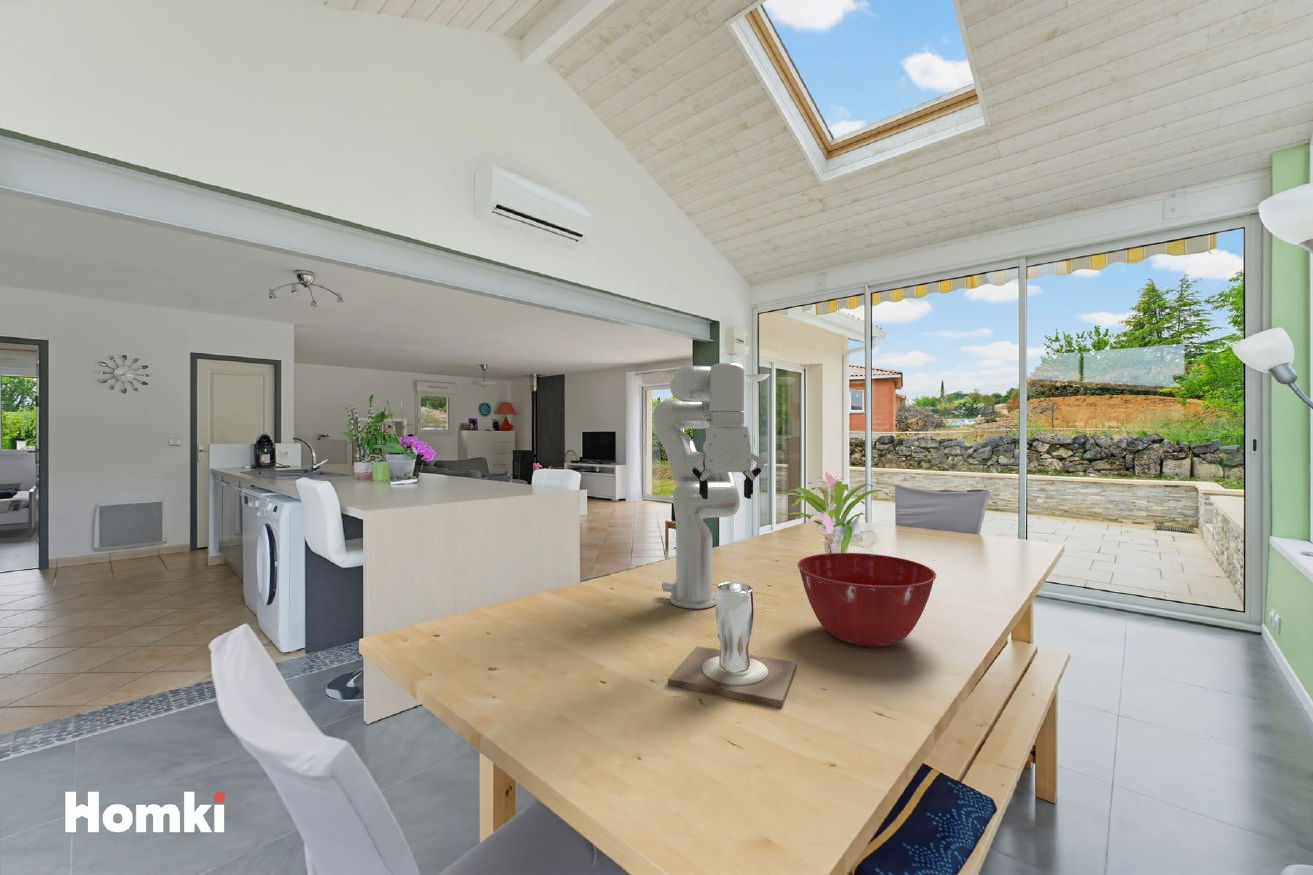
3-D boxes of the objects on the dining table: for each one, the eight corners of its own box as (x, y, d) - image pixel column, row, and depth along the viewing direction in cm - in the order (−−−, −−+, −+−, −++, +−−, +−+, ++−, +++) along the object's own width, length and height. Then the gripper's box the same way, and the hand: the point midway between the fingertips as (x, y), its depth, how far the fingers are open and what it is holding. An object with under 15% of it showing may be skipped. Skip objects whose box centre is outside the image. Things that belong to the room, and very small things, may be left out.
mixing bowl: (861, 673, 103) (862, 590, 103) (771, 623, 129) (772, 557, 129) (966, 649, 115) (967, 575, 114) (864, 608, 141) (864, 548, 140)
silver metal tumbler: (756, 663, 104) (756, 583, 103) (750, 679, 97) (750, 594, 97) (719, 657, 106) (720, 580, 106) (711, 673, 99) (711, 590, 99)
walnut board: (668, 685, 98) (668, 677, 98) (696, 651, 113) (696, 644, 113) (782, 707, 90) (782, 698, 90) (796, 668, 105) (796, 660, 105)
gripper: (691, 419, 116) (690, 501, 116) (770, 420, 118) (769, 500, 119) (684, 420, 123) (684, 496, 124) (759, 420, 126) (758, 495, 126)
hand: (726, 498), depth 121 cm, fingers open, 9 cm apart
